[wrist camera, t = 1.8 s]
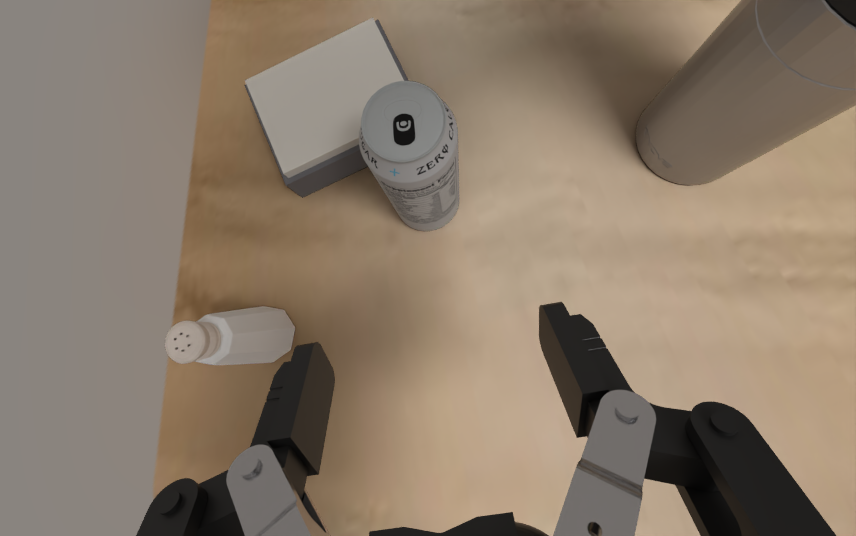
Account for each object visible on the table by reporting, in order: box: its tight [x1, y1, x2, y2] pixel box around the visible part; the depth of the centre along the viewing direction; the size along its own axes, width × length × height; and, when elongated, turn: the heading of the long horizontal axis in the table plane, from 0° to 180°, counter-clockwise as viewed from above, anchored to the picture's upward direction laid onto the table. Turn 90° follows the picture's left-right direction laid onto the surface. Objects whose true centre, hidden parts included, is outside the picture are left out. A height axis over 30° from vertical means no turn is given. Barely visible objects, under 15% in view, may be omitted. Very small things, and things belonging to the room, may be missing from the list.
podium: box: [245, 18, 408, 198], centre depth 35 cm, size 14×11×4 cm
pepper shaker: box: [165, 306, 295, 365], centre depth 30 cm, size 5×5×11 cm
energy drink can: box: [359, 81, 459, 231], centre depth 28 cm, size 6×6×15 cm
